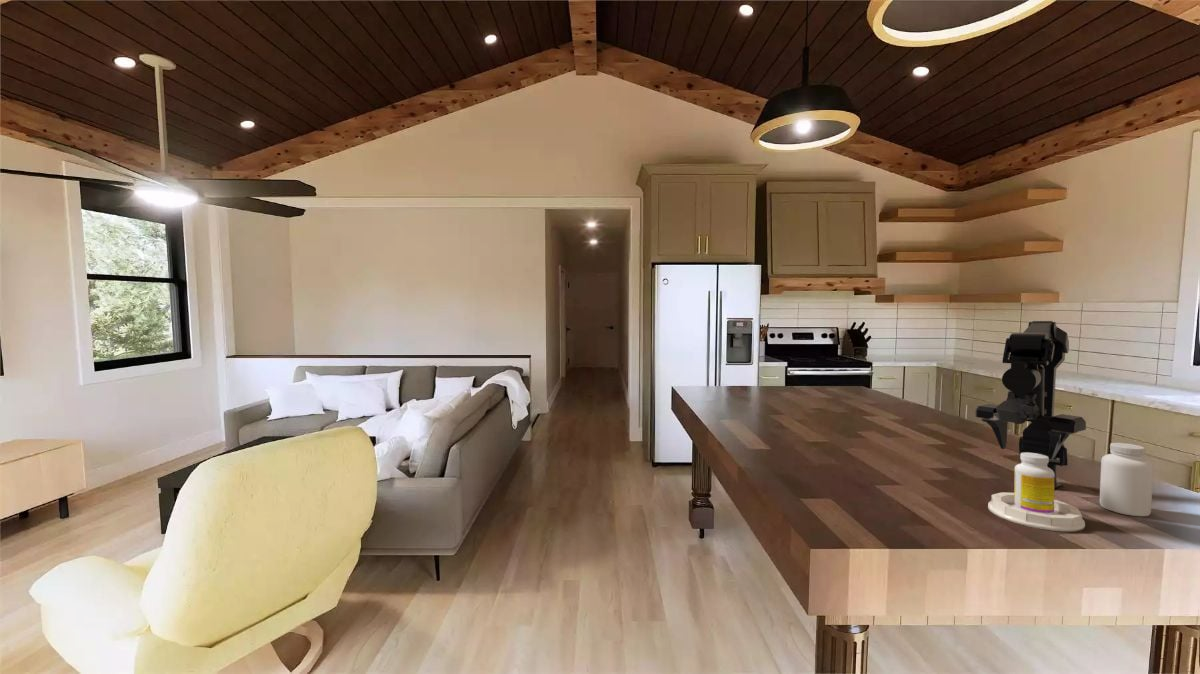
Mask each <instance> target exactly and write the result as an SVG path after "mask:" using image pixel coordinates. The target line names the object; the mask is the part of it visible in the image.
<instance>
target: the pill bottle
mask: <svg viewBox="0 0 1200 674" xmlns="http://www.w3.org/2000/svg"><path fill="white" fill-rule="evenodd" d="M1109 449H1110V450H1109V452H1110V453H1108V454H1104V455H1103V456H1102V457H1101V462H1100V479H1099V480H1100V483H1099V505H1100V507H1102V508H1104V509H1106V510H1108V511H1111V512H1114V513H1117V514H1120V515H1126V516H1132V517H1149V516H1150V515H1151V512H1152V497H1153V495H1152V494H1153V475H1154V467H1153V464H1152V462H1150V460H1148V459H1145V454H1146V449H1145V447H1144V446H1142V445H1137V444H1132V443H1128V442H1127V443H1126V442H1124V443H1123V442H1111V443H1110V444H1109Z"/></svg>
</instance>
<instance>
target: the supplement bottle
mask: <svg viewBox="0 0 1200 674" xmlns="http://www.w3.org/2000/svg"><path fill="white" fill-rule="evenodd" d="M1019 460H1020V461H1021V463H1018V464H1015V466H1014V484H1013V485H1014V487H1013V489H1014V490H1013V493H1014V507H1016V508H1019V509H1022V510H1026V511H1030V512H1035V513H1041V514H1047V515H1054V500H1055V488H1054V479H1055V474H1054V472H1053V470H1052V469H1050V468H1048V467H1047V464H1048V462H1049V457H1048V456H1046V455H1042V454H1037V453H1027V452H1025V453H1021V454H1020V455H1019Z"/></svg>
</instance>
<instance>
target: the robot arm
mask: <svg viewBox="0 0 1200 674" xmlns="http://www.w3.org/2000/svg"><path fill="white" fill-rule="evenodd" d="M1069 348H1070V342H1069V336H1068V333H1067V331H1065V330H1063V329H1061V328H1060V327H1058V326H1057V323H1056V321H1053V320H1033V321H1029V322H1028V326H1027V327H1026V329H1025V330H1024V331H1023V332H1013V333H1010V335H1009V337H1007V338H1006V339H1005V344H1004V349H1003V356H1002V360H1001V361H1002V364H1010V368H1009V369H1007V370H1005V372H1004V373H1003V375H1002V377H1001V383H1002V384H1003V386H1004V387H1005V389H1006V390H1008V392H1007V397H1006V400H1003V401H1002V402H1001V403H1000V404H992V403H987V404H982V405H978V406H976V408H975V413H974V414H975V416H974V417H976V418H979V419H981V422H985V423H986V424H987V425H988V426H990V428H991V429H992V432H993V433H994V435H995V438H996V440H997V442H998V445H999V447H1000V449H1001V450H1005V449H1006V447H1007V441H1008V439H1007V438H1008V423H1013V424H1015V425H1022V424H1023V425H1024V424H1025V423H1026V422H1030V423H1029V424H1028V425H1027V426H1026V427H1025V428H1024V429H1023V430H1022V436H1020V437H1019V440H1018V441H1019V442H1018V450H1019V451H1018V453H1019V456H1020V454H1021V453H1025V452H1027V453H1037V454H1042V455H1046V456H1048V457H1049V462H1048V464H1047V467H1048V468H1050V469H1052V470H1053V472H1054V474H1055V479H1054V489H1057V488H1061V487H1064V484H1063V483H1062V482H1061V483H1060V482H1057V481H1058V479H1057V477H1058V471H1057V470H1058V466H1060V467H1064V466H1068V464H1069V462H1068V461H1069V456H1068V449H1067V447H1066V446H1065V443H1064V442H1065V441H1066V440H1067V439H1068V437H1069V436H1070V435H1073V434H1077V433H1078V432H1079V433H1080V432H1083V431H1086V429H1087V421H1086V420H1085V419H1084V418H1083V416H1078V415H1070V414H1065V413H1064V414H1063V413H1061V414H1058V415H1055V400H1056V399H1055V398H1056V380H1057V379H1056V378H1057V369H1058V368H1059V367H1060V366H1061V365H1062V364H1063V363H1064V361H1066V354H1068V353H1069V352H1070V351H1069V350H1070V349H1069Z"/></svg>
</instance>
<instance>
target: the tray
mask: <svg viewBox="0 0 1200 674" xmlns="http://www.w3.org/2000/svg"><path fill="white" fill-rule="evenodd" d="M987 504H988V505H987V508H988V511H989V512H990V513H992V514H993V515H995V516H996V517H998V518H1001V519H1003V520H1006V521H1008V522H1011V523H1015V524H1017V525H1021V526H1025V527H1030V528H1033V529H1038V530H1044V531H1051V532H1060V533H1061V532H1062V533H1066V532H1067V533H1071V532H1074V533H1075V532H1080V531H1083V530H1084V529H1086V522H1085V520H1084V518H1083V515H1082V514H1083V513H1081V511H1080V509H1079V508H1077V507H1075V506H1073V505H1071V504H1068V503H1066V502H1063V501H1060V500H1057V499H1054V515H1047V514H1041V513H1035V512H1030V511H1026V510H1022V509H1019V508H1016V507H1014V492H1005V491H1004V492H997V493H994V494H991V500H990V501H989V502H988V503H987Z"/></svg>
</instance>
